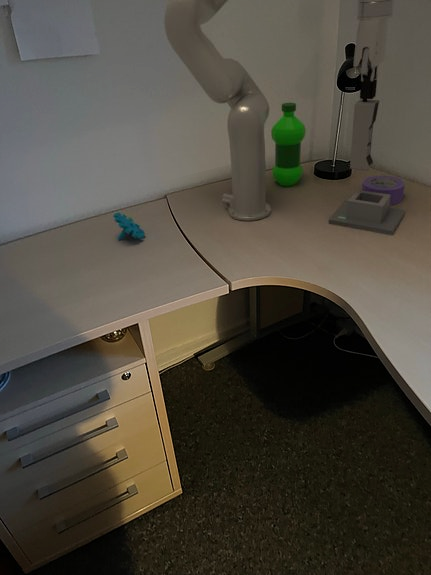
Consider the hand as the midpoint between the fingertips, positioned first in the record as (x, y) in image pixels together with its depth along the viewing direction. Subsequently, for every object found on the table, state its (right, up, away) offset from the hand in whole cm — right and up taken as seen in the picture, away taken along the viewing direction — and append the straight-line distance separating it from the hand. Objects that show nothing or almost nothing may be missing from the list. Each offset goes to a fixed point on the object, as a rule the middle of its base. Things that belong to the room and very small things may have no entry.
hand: (367, 97), depth 113 cm
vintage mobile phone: (+2, -15, +10) cm, 18 cm away
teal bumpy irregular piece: (-60, -32, +16) cm, 70 cm away
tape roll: (+13, -19, +27) cm, 36 cm away
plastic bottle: (-13, -12, +41) cm, 45 cm away
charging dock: (+5, -27, +16) cm, 32 cm away
